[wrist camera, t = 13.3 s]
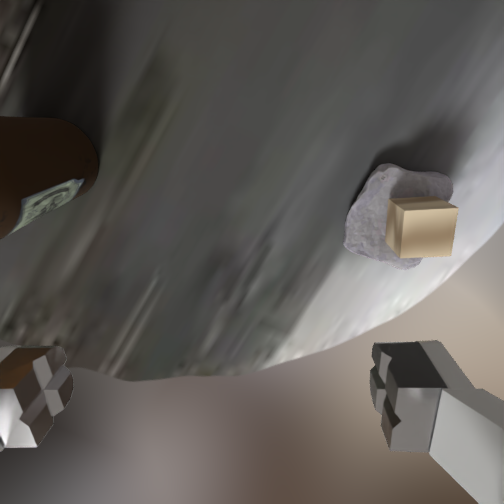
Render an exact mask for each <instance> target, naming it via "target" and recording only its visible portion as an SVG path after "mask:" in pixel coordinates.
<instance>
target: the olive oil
mask: <svg viewBox="0 0 504 504" xmlns="http://www.w3.org/2000/svg"><path fill="white" fill-rule="evenodd" d="M97 174H98V159H97V155H96V152H95V149H94V147H93V145H92V143H91V141H90V140H89V139H88V137H87V136H86V135H85V134H84V133H83V132H82V131H81V130H80V129H79V128H78V127H76V126H75V125H73V124H71V123H69V122H67V121H65V120H61V119H57V118H35V117H5V116H0V239H2V238H4V237H6V236H7V235H9V234H11V233H13V232H14V231H16V230H18V229H20V228H21V227H23V226H25V225H27V224H28V223H30V222H32V221H34V220H36V219H37V218H39V217H41V216H43V215H45V214H47V213H48V212H50V211H52V210H54V209H56V208H58V207H59V206H61V205H63V204H65V203H67V202H69V201H71V200H73V199H75V198H77V197H79V196H81V195H82V194H84V193H86V192H87V191H88V190H89V189H90V188H91V187H92V186H93V184H94V182H95V180H96V178H97Z"/></svg>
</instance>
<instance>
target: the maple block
mask: <svg viewBox="0 0 504 504" xmlns="http://www.w3.org/2000/svg"><path fill="white" fill-rule="evenodd" d="M457 215H458V207H456V206H454V205H452V204H450V203H448V202H446V201H444V200H442V199H440V198H438V197H436V196H428V197H410V198H393V199H388V208H387V221H386V234H385V242H386V243H387V244H388V245H389V246H390V248H391V249H392V250H393V251H394V252H395V253H396V254H397V256H398V257H399V258H420V257H442V256H451V253H452V246H453V240H454V234H455V227H456V221H457Z"/></svg>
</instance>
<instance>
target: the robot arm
mask: <svg viewBox="0 0 504 504" xmlns="http://www.w3.org/2000/svg"><path fill="white" fill-rule="evenodd" d="M372 358H373V360H374V363H375V366H374V367H373V368H372V369H371V370H370V391H371V396H372V401H373V404H374V407H375V410H376V411H378V412H379V413H380V414H381V415H382V419H381V427H382V430H383V433H384V436H385V438H386V441H387V444H388V447H389V450H390V451H407V452H430V453H429V455H430V456H431V457H432V458H433V459H434V460H435V461H436V462H437V463H438V464H439V465H441V466H442V467H443V468H444V469H445V470H446V471H447V472H448V473H449V474H450V475H451V476H452V477H453V478H454V479H455V480H456V481H457V482H458V483H459V484H460V485H461V486H462V487H463V488H464V489H465V490H466V491H467V492H468V493H469V494H470V495H471V496H472V497H473V498H474V499H475V500H476V501H477V502H478V503H479V504H504V401H503V400H501V399H499V398H498V397H496V396H494V395H492V394H490V393H489V392H487V391H485V390H484V389H475V387H474V386H473V385H472V383H471V382H470V381H469V379H468V378H467V377H466V376H465V374H464V373H463V372H462V370H461V369H460V368H459V366H458V365H457V363H456V362H455V361H454V359H453V358H452V357H451V355H450V354H449V353H448V351H447V350H446V349H445V347H444V346H443V344H442V343H441V342H439V341H437V340H435V341H416V342H381V343H379V342H378V343H374V345H373V348H372ZM66 359H67V358H66V355H65V353H64V350H63V348H61V347H58V346H3V347H0V452H1V451H2V450H3V448H14V447H38V445H39V444H40V442H41V441H42V440H43V438H44V437H45V435H46V434H47V433H48V431H49V430H50V428H51V427H52V425H53V424H54V420H53V416H54V415H56V414H57V413H59V412H60V411H62V410H63V409H64V408H65V407H66V405H67V404H68V402H69V401H70V399H71V395H72V392H73V388H74V382H73V377H72V373H71V372H70V371H69V370H68V369H67V368H66V367H65V366H64V363H65V361H66Z"/></svg>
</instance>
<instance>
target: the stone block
mask: <svg viewBox="0 0 504 504" xmlns="http://www.w3.org/2000/svg"><path fill="white" fill-rule="evenodd" d="M452 194H453V184H452V182H451V180H450V179H449V177H448V176H446V175H444V174H441V173H438V172H434V171H427V172H426V171H425V172H419V171H410V170H405V169H403V168H401V167H399V166H397V165H394V164H391V163H386V164H381V165H379V166H378V167H377V168H376V169H375V170H374V171H373V172H372V173H371V175H370V177H369V178H368V180H367V182H366V184H365V186H364V187H363V189H362V191H361V192H360V194H359V195H358V198H357V200H356V201H355V203H354V204H353V205H352V207H351V209H350V211H349V213H348V215H347V220H346V222H345V235H344V241H343V244H344V246H345V247H346V248H347V249H348V250H350V251H351V252H353V253H355V254H358V255H362V256H365V257H367V258H370V259H374V260H377V261H382V262H385V263H387V264H389V265H392V266H393V267H395V268H398V269H403V270H406V269H409V268H411V267H415V266H417V265H418V264H419V263H420V262H421V260H422V258H423V257H420V258H399V257H398V256H397V254H396V253H395V252H394V251H393V250H392V249H391V248H390V246H389V245H388V244H387V243H386V242H385V234H386V221H387V208H388V199H393V198H410V197H428V196H436V197H438V198H440V199H442V200H444V201H446V202H449V200H450V199H451V196H452Z"/></svg>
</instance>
